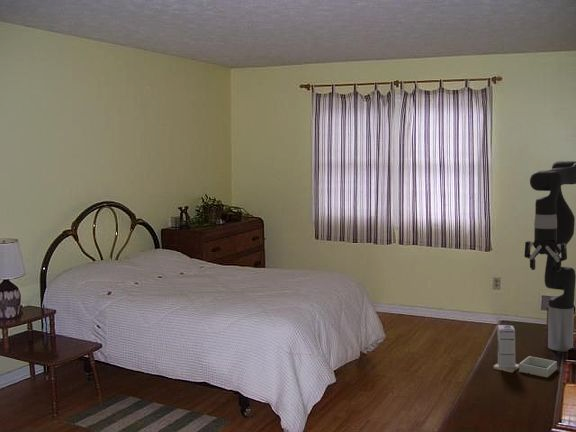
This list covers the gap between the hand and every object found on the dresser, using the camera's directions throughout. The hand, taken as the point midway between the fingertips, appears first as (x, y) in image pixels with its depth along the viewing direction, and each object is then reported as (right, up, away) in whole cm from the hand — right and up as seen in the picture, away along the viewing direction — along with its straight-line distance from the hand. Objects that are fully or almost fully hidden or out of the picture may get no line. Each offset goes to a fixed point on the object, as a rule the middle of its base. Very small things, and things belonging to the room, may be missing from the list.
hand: (545, 270), depth 222 cm
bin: (-2, -36, 0) cm, 36 cm away
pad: (-13, -36, +4) cm, 39 cm away
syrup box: (-13, -36, +4) cm, 38 cm away
